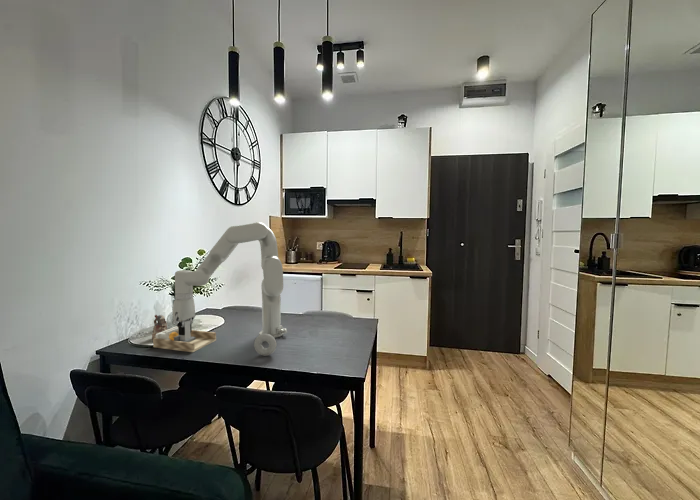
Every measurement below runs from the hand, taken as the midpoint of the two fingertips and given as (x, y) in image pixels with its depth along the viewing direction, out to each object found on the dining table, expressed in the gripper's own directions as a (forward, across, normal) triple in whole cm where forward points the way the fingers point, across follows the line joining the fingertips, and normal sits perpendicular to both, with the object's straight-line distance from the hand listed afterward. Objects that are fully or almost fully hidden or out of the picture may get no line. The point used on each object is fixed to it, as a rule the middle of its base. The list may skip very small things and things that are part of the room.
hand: (185, 333), depth 156 cm
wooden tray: (+5, 0, 0) cm, 5 cm away
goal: (+4, 0, -8) cm, 9 cm away
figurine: (+5, -3, -18) cm, 19 cm away
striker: (+4, 0, 0) cm, 4 cm away
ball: (+2, 0, -7) cm, 7 cm away
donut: (+6, +2, +44) cm, 45 cm away
